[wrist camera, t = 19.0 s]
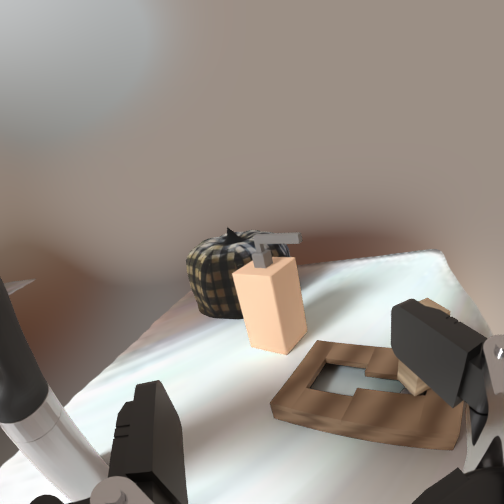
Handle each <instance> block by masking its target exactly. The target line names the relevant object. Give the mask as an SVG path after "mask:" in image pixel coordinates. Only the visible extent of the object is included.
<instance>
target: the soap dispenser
mask: <svg viewBox="0 0 504 504" xmlns="http://www.w3.org/2000/svg"><path fill="white" fill-rule="evenodd" d="M253 239H254V243H255V248H256V252H255V253H253V254H252V259H253V261H251V262H249V263H248V264H246V265H245V266H243V267H242V268H240V269H238V270H237V271H235V272H234V273H232V275H233V279H234V283H235V287H236V291H237V295H238V299H239V302H240V306H241V310H242V314H243V318H244V321H245V325H246V329H247V333H248V336H249V340H250V344H251V347H253V348H258V349H262V350H266V351H271V352H275V353H280V354H284V355H287V354H288V353H289V352H290V351H291V350H292V349H293V348H294V346H295V345H296V344H297V343H298V342H299V341H300V339H301V338H302V337H303V336H304V335H305V334H306V332H307V325H306V318H305V312H304V306H303V300H302V294H301V288H300V282H299V277H298V271H297V265H296V260H295V257H272V255H271V250H265V248H264V244H290V243H292V244H294V243H300V242H302V236H301V233H276V234H275V233H273V234H256V235H254V236H253Z"/></svg>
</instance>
